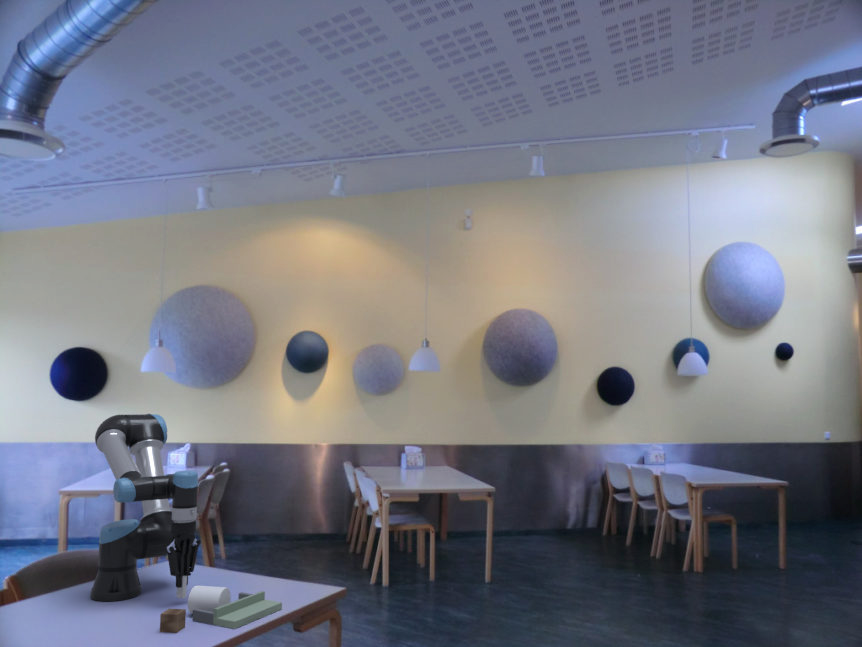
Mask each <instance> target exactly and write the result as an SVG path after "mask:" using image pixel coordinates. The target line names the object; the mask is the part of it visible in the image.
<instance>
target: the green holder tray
mask: <svg viewBox="0 0 862 647" xmlns="http://www.w3.org/2000/svg"><path fill="white" fill-rule="evenodd" d="M265 596H266V591H263V590H261V591H258V592H256V593H249V592H248V593H247V592H243V591H242V592H239V593H238V599H236V600H234V601H230V603H228V604H226V605H223V606H220V607H217V608H215V609H214V612H212V611H207V610H202V609H194V610H193V614H192V622H193V621H194V622H199V623H203V624H209V625H212V626H218V627H223V628H227V629H233V630H236V629H239V628H241V627H243V626H246V625H248V624H250V623H253V622H255V621H257V620H260V619H262V618H264V617H267V616H269V615H271V614H274V613H276V612H278V611H282V610H283V602H281V601H276V600H270V599H266V597H265Z"/></svg>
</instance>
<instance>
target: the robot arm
mask: <svg viewBox="0 0 862 647" xmlns="http://www.w3.org/2000/svg"><path fill="white" fill-rule="evenodd" d="M167 440H168V427H167V424H166V421H165V419H164V418H163V416H161V415H160V414H154V413H153V414H152V413H146V414H145V413H144V414H141V413H140V414H116V415H112V416H110V417H108V418H106V419H104V420H103V421H102V422H101V423H100V424H99V426H98V428H97V429H96V431H95V436H94V443H95V445H96V448H97V449H98V450H99V451H100V452H101V453H103V455H104V457H105V459H106V461H107V463H108V466H109V468H110V470H111V472H112V474H113V476H114V479H115V481H114V483H113V488H112V489H113V492H112V493H113V498H114V501H115V502H117V503H128V504H130V503H135V502H141V505H142V513H143V516H142V517H140V520H138V519H136V518H135V519H133V518H129V519H121V520H116V521H112V522H109V523H106V524H105V525H103V526H102V527H101V529H100V531H99V538H98V539H99V540H98V558H97V559H98V564H97V574H96V576H95V580H94V582H93V586H92V588H91V589H90V599H91V598H92V600H93V599H94V601H97V602H116V601H125V600H128V599H133V598H135V597H138V596H140V595H141V594H142V584H141V581H140V578H139V573H138V570H137V569H138V568H137V565H138V563H137V562H138V560H144V559H151V558H152V559H153V558H159V557H160V558H161V557H167V559H168V567H169V571H170V573H169V574H170V576H172V577H175V588H176V598H178V599H185V598H187V588H188V587H187V586H189V585H188V584H189V577H190V576H192V573H193V572H194V571H195V566H196V560H197V556H198V551H199V547H200V545H201V543H202V542H201V540H200V539H196V536H195V533H197V521H196V520H197V518H198V517H197V515H198V514H197V513H198V492H199V491H198V488H199V477H198V476H199V475H198V472H197V471H196V470H195V471H194V470H178V471H175V472H174V473H167V474H165V473H164V466H163V461H162V456H161V455H162V454H161V451H162V449H164V445H165V444H166V442H167ZM133 456H134V457H133ZM134 459H135V460H134ZM169 499H172V503H171V504H172V505H171V507H170V502H169ZM171 508H172V509H171Z"/></svg>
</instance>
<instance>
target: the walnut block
mask: <svg viewBox="0 0 862 647" xmlns="http://www.w3.org/2000/svg"><path fill="white" fill-rule="evenodd" d="M186 612H187V609H185V608H183V609H182V608H168V609H166V610H165V611H163V612H161V613H160V616H159V617H160V619H159V620H160V622H159V633H165V634H166V633H168V634H170V633H171V634H178V633H179V632H180V631H182V630H183V629H185V628H186V614H187V613H186Z"/></svg>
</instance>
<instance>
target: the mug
mask: <svg viewBox="0 0 862 647" xmlns="http://www.w3.org/2000/svg"><path fill="white" fill-rule="evenodd" d="M231 598H232V597H231V592H230V589H229V588H228V587H226V586H213V585H212V586H210V585H209V586H208V585H195V586H193V587H192V588H191V590H190V591H189V595H188V597H187V609H188V610H187V611H188V612H189V613H190V614H192V615H193V610H194V609H202V610H207V611H212V612H214V609H215V608H217V607H220V606H223V605H226V604H228V603H231Z"/></svg>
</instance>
